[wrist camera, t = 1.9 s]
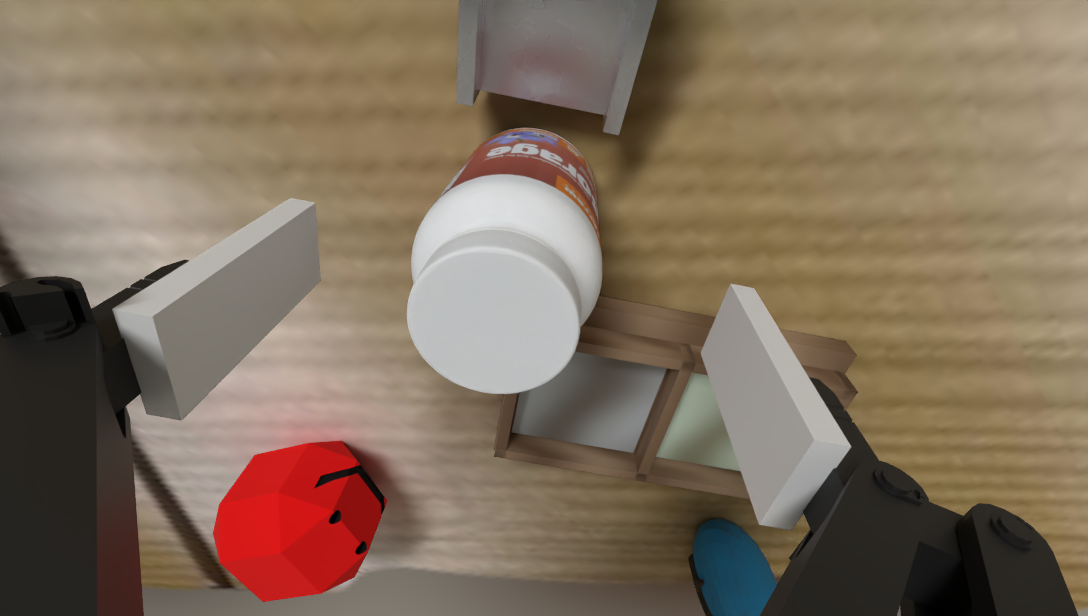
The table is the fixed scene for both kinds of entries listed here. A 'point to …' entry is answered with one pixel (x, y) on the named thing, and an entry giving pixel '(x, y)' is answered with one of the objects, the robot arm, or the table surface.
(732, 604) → the ornament
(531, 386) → the pill bottle
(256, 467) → the ball
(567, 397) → the divided sorting tray
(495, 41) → the feeder chute
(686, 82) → the table surface
